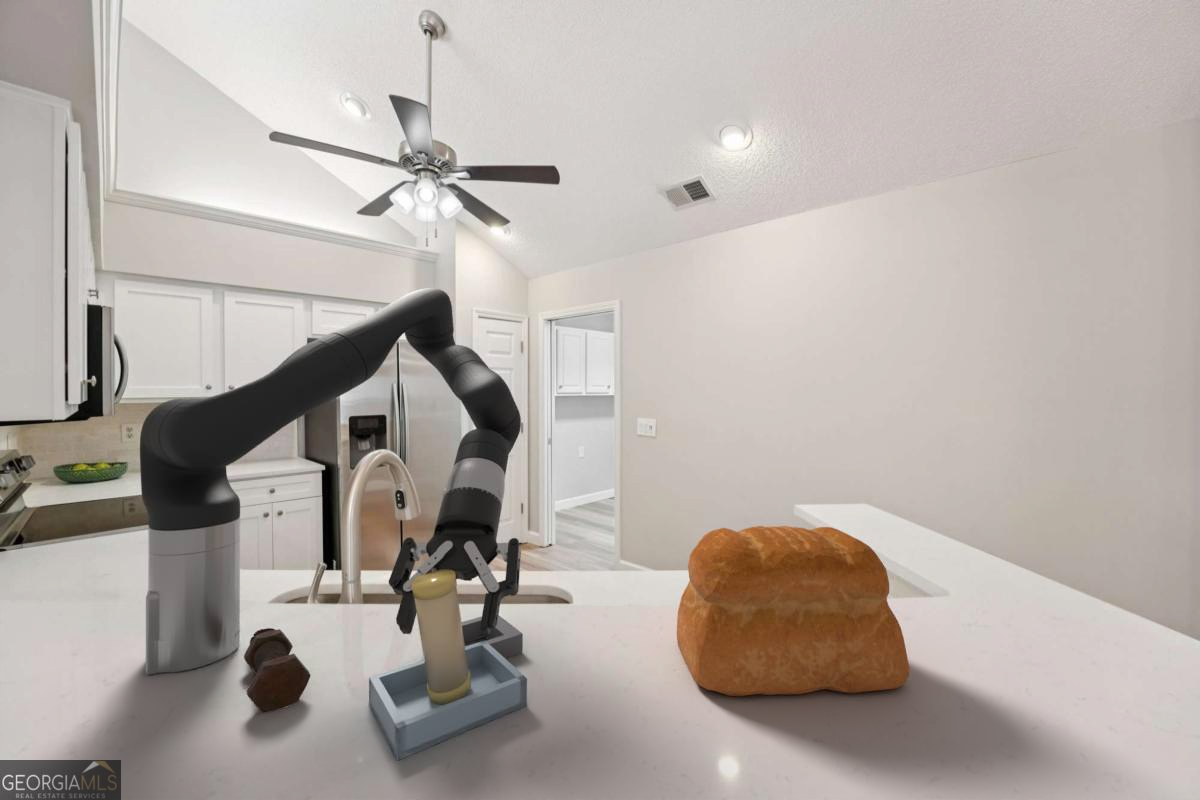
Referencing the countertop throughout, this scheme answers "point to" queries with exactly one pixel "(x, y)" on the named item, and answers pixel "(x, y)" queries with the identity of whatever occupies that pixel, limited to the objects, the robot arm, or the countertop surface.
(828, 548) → the bread
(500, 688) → the parts tray
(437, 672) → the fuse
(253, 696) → the bolt
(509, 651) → the fuse holder
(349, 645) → the countertop surface
